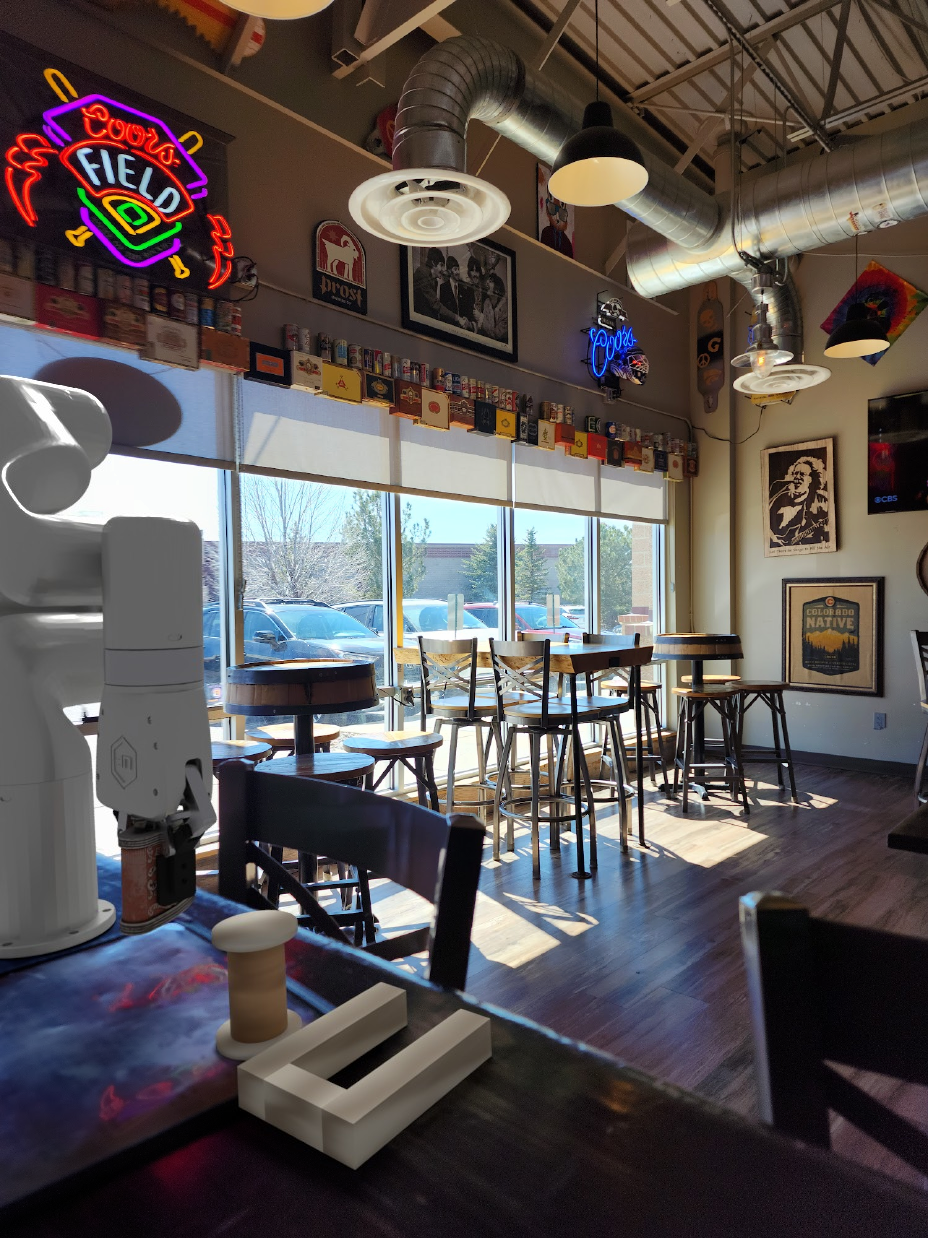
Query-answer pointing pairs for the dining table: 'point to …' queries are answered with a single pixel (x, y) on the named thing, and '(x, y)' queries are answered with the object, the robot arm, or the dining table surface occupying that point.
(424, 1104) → the notched board
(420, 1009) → the dining table surface
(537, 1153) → the dining table surface
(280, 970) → the bobbin
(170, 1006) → the dining table surface
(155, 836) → the lighter
